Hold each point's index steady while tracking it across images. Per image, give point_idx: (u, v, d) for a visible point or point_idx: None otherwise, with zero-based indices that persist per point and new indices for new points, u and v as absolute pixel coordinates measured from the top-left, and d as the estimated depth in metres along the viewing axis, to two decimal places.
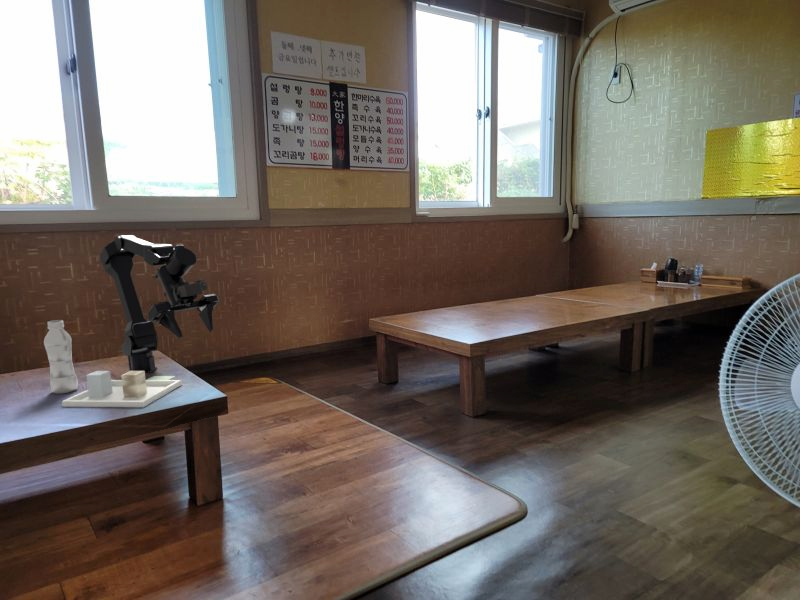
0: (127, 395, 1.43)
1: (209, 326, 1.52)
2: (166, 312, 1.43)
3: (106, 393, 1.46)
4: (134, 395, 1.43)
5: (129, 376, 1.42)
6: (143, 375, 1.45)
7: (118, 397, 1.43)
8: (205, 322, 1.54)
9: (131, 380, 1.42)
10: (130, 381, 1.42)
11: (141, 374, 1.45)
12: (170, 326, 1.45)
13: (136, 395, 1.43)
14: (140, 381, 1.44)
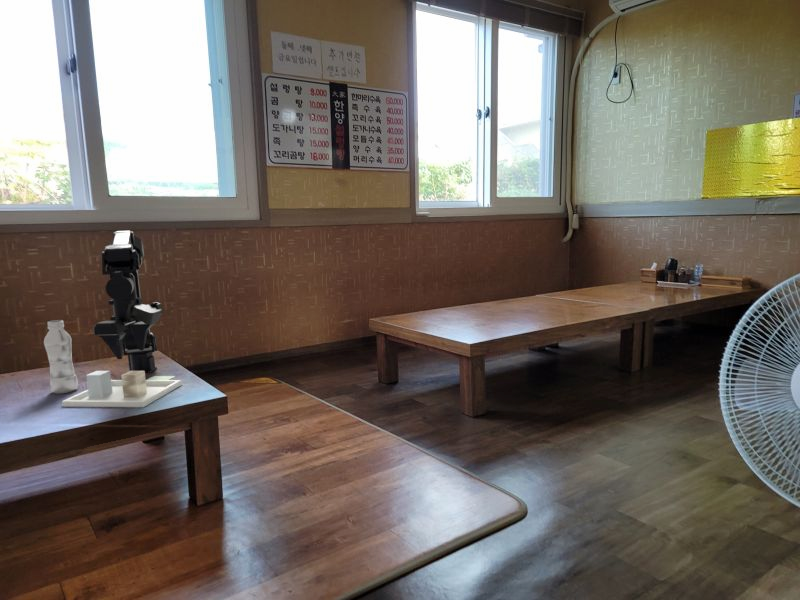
0: (127, 395, 1.43)
1: (141, 345, 1.48)
2: (120, 335, 1.35)
3: (106, 393, 1.46)
4: (134, 395, 1.43)
5: (129, 376, 1.42)
6: (143, 375, 1.45)
7: (118, 397, 1.43)
8: (137, 338, 1.48)
9: (131, 380, 1.42)
10: (130, 381, 1.42)
11: (141, 374, 1.45)
12: (113, 345, 1.37)
13: (136, 395, 1.43)
14: (140, 381, 1.44)
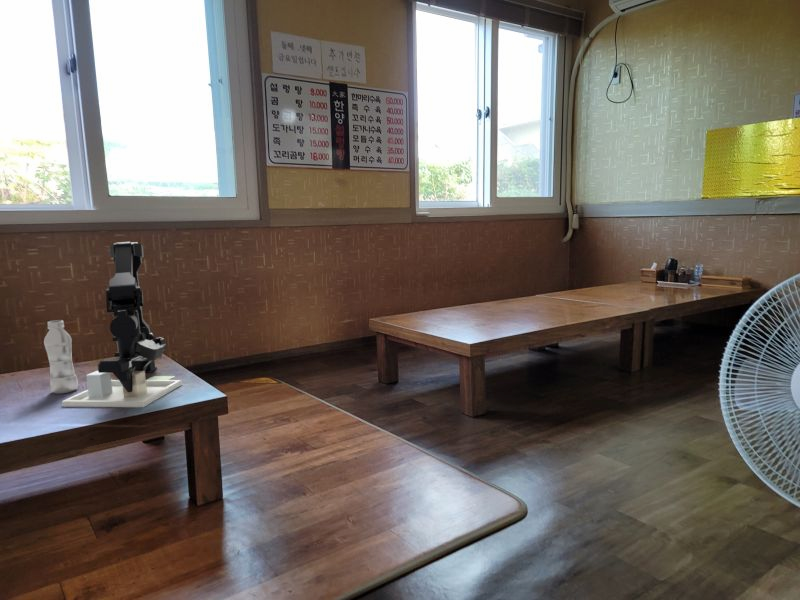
0: (127, 395, 1.43)
1: None
2: (130, 370, 1.39)
3: (106, 393, 1.46)
4: (134, 395, 1.43)
5: None
6: (143, 375, 1.45)
7: (118, 397, 1.43)
8: None
9: None
10: None
11: (141, 374, 1.45)
12: (123, 378, 1.41)
13: (136, 395, 1.43)
14: (140, 381, 1.44)
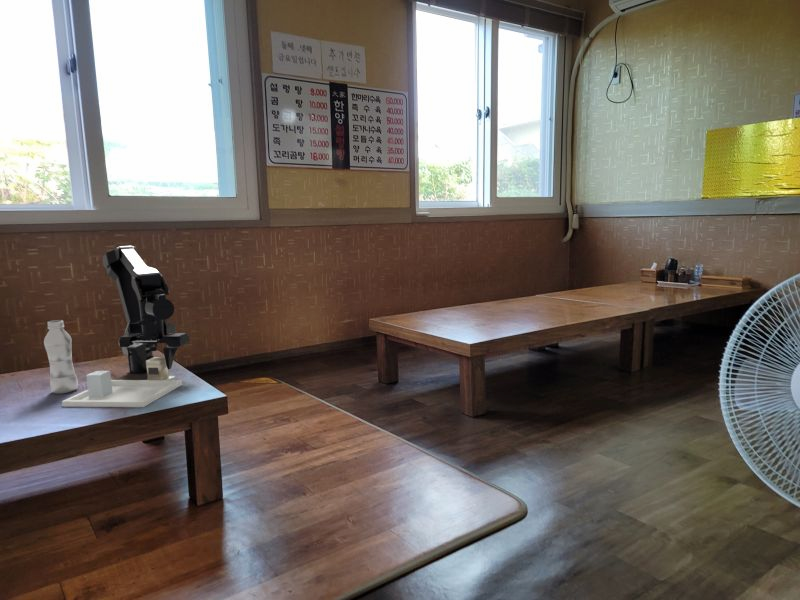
0: (163, 378, 1.58)
1: None
2: None
3: (106, 393, 1.46)
4: (166, 376, 1.60)
5: (163, 359, 1.58)
6: None
7: (118, 397, 1.43)
8: (142, 359, 1.58)
9: (164, 362, 1.59)
10: (164, 363, 1.59)
11: None
12: (170, 356, 1.57)
13: (167, 375, 1.60)
14: None
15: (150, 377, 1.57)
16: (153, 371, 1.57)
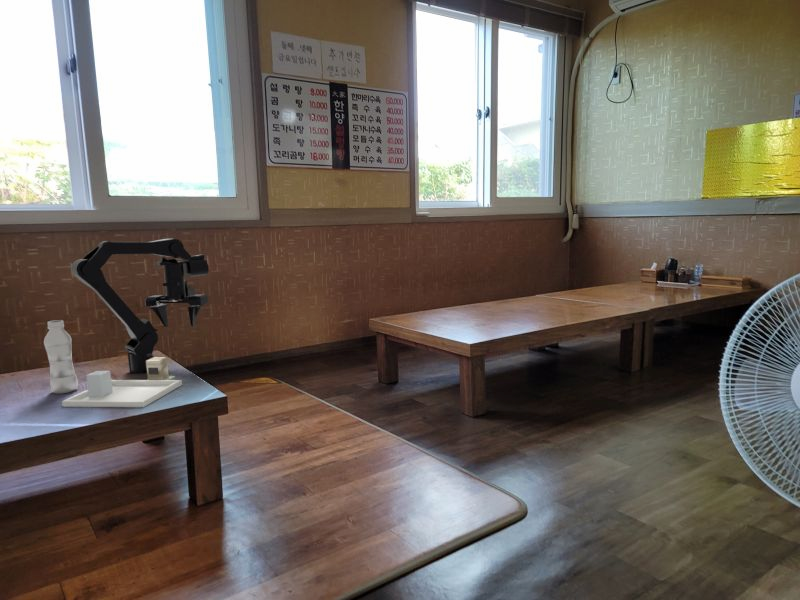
0: (163, 378, 1.58)
1: (166, 322, 1.77)
2: None
3: (106, 393, 1.46)
4: (166, 376, 1.60)
5: (163, 359, 1.58)
6: None
7: (118, 397, 1.43)
8: (163, 317, 1.76)
9: (164, 362, 1.59)
10: (164, 363, 1.59)
11: None
12: (194, 314, 1.74)
13: (167, 375, 1.60)
14: None
15: (150, 377, 1.57)
16: (153, 371, 1.57)
